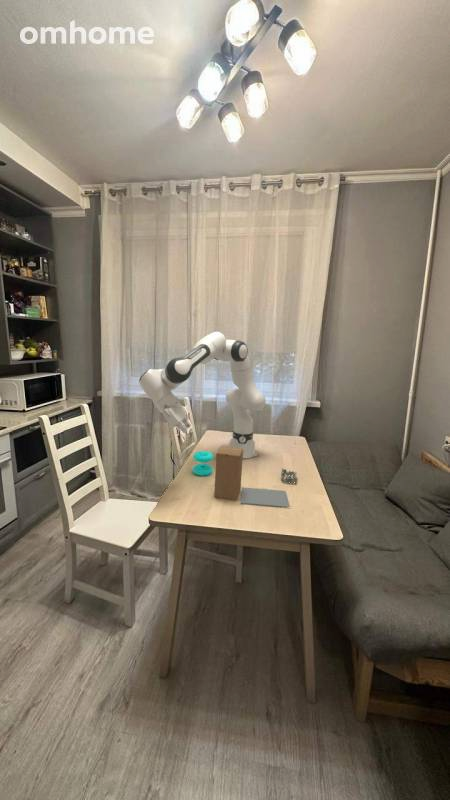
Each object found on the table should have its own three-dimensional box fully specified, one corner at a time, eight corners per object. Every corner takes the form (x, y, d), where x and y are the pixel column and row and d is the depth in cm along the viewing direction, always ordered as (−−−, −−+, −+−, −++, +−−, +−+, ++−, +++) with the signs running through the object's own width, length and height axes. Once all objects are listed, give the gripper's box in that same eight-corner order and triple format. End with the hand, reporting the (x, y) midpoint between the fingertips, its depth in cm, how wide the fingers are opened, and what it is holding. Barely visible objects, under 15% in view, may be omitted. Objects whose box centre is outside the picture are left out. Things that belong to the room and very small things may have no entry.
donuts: (193, 457, 149) (192, 450, 158) (193, 476, 150) (192, 468, 160) (214, 457, 150) (212, 450, 160) (213, 476, 152) (211, 468, 162)
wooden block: (236, 500, 130) (239, 455, 126) (213, 497, 132) (216, 452, 128) (240, 490, 139) (243, 447, 136) (218, 486, 141) (221, 445, 138)
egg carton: (281, 474, 159) (281, 467, 159) (296, 476, 158) (296, 469, 157) (279, 483, 149) (280, 475, 148) (295, 485, 147) (296, 477, 147)
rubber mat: (241, 488, 141) (241, 487, 141) (285, 492, 140) (285, 490, 140) (240, 503, 127) (240, 502, 127) (289, 508, 126) (289, 506, 126)
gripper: (168, 402, 120) (190, 430, 121) (177, 396, 140) (196, 420, 141) (155, 412, 120) (177, 440, 121) (166, 405, 141) (185, 429, 142)
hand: (187, 429), depth 131 cm, fingers open, 8 cm apart
